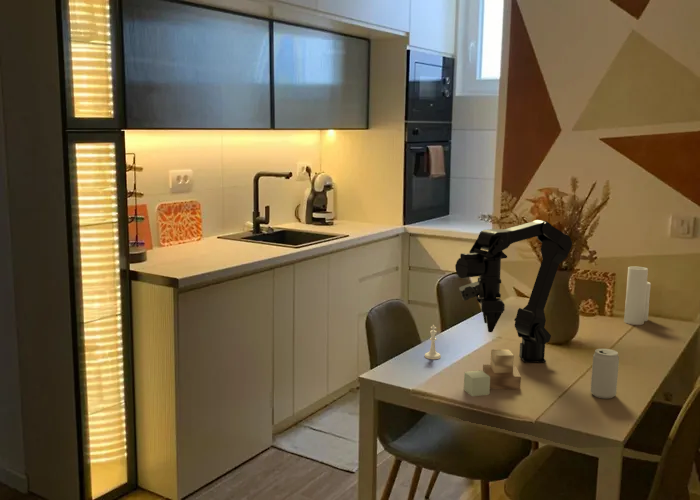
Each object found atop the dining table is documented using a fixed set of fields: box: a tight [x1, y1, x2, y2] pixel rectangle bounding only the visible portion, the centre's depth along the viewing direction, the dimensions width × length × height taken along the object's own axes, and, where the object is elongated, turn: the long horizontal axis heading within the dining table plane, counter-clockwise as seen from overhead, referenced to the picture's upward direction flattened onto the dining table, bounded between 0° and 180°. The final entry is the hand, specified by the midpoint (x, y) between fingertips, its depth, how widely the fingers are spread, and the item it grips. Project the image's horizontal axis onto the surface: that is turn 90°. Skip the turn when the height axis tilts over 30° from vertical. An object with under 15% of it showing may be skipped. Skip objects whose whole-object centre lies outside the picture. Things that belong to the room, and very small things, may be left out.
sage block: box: [463, 369, 490, 397], centre depth 190 cm, size 5×5×5 cm
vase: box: [623, 265, 652, 326], centre depth 259 cm, size 11×7×20 cm, turn 144°
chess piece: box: [424, 324, 442, 360], centre depth 218 cm, size 5×5×10 cm
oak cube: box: [489, 349, 515, 373], centre depth 196 cm, size 5×5×5 cm
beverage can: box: [590, 348, 620, 400], centre depth 188 cm, size 6×6×12 cm
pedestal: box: [482, 364, 522, 391], centre depth 197 cm, size 9×9×4 cm
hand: (488, 327), depth 207 cm, fingers open, 9 cm apart
